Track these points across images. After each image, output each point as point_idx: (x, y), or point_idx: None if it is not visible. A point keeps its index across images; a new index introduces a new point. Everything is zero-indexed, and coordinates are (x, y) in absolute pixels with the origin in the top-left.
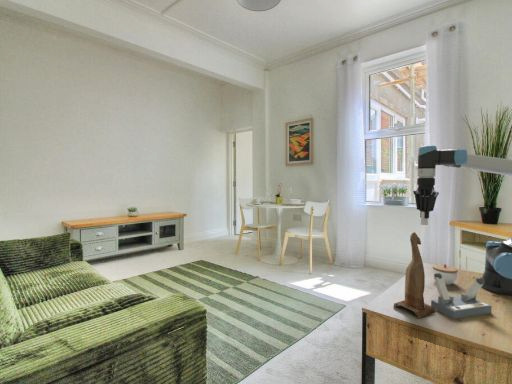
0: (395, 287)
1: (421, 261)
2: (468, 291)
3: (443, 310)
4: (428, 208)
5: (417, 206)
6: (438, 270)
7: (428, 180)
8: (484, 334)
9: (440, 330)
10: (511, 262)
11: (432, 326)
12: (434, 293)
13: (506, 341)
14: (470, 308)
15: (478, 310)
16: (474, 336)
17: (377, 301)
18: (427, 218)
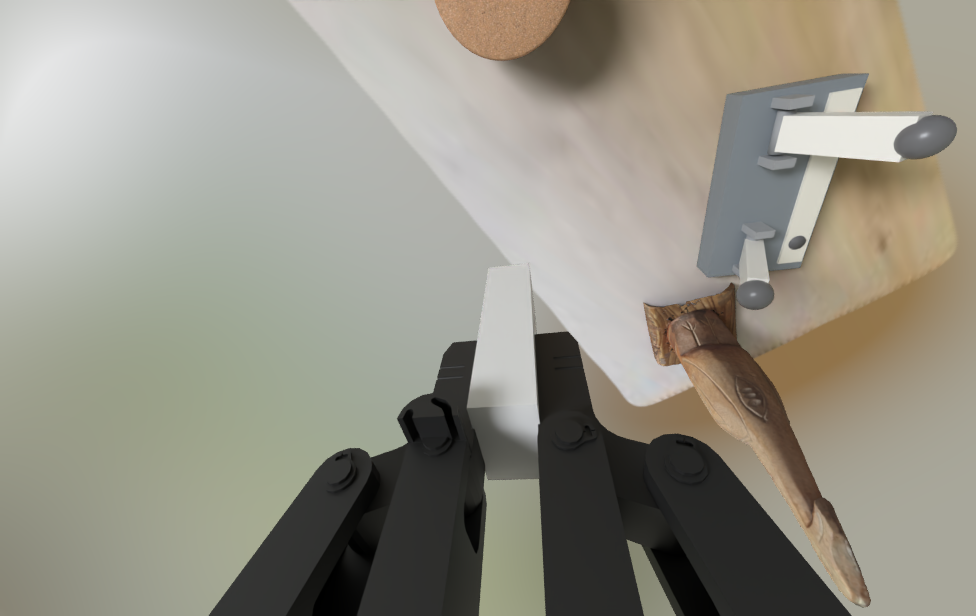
0: (532, 278)
1: (794, 435)
2: (810, 154)
3: None
4: (686, 575)
5: (358, 588)
6: (524, 55)
7: None
8: (885, 241)
9: (798, 330)
10: None
11: (775, 334)
12: (613, 170)
13: (947, 212)
14: (823, 195)
15: None
16: (870, 275)
17: (613, 374)
18: (532, 321)
